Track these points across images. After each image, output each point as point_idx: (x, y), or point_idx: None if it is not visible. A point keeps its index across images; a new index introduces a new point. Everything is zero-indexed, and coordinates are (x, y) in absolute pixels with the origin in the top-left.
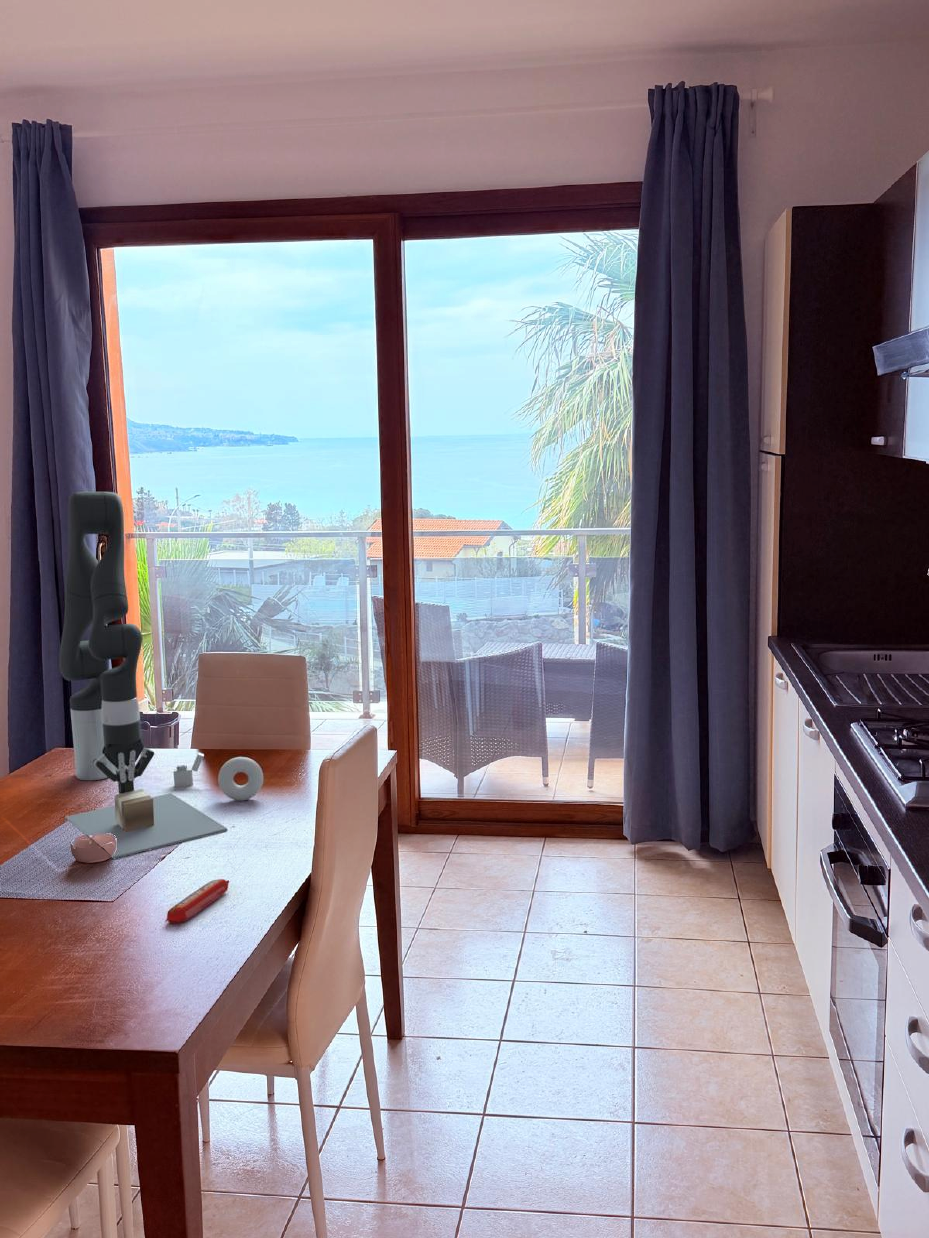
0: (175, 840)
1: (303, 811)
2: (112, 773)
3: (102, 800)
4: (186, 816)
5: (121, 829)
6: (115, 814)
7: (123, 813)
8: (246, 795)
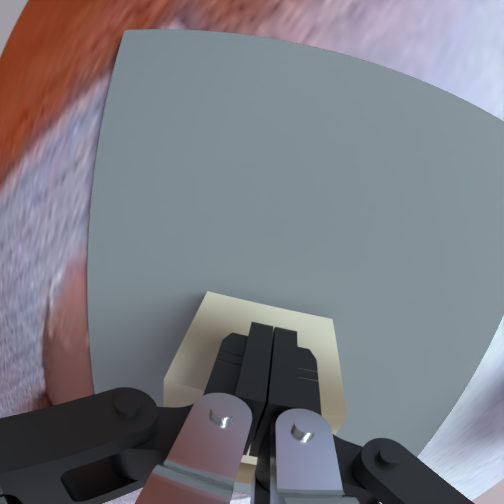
0: None
1: (500, 479)
2: (99, 498)
3: None
4: (411, 406)
5: None
6: (198, 310)
7: None
8: None
